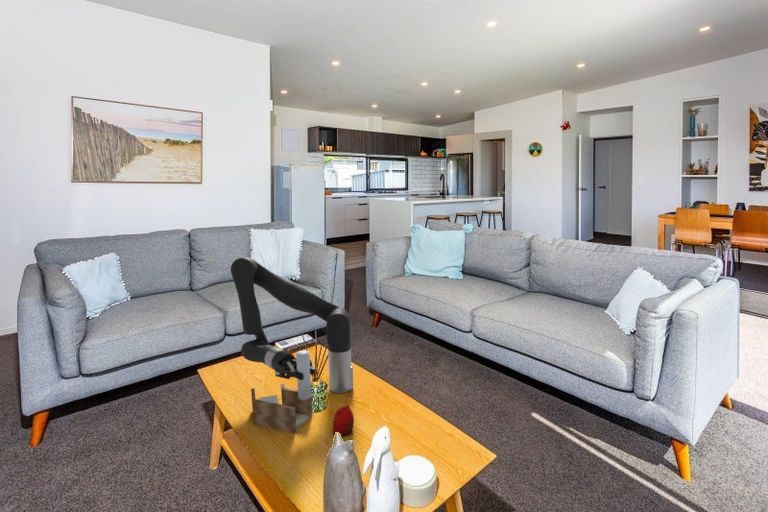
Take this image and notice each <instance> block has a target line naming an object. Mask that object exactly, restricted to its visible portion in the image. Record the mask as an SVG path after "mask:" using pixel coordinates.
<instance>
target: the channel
mask: <svg viewBox="0 0 768 512" xmlns="http://www.w3.org/2000/svg"><path fill="white" fill-rule="evenodd" d="M285 386H286V385H285V383H281V384H280V394H281V404H280V403H278V404H276V403H271V402H266V401H262V400H259V399H257V398H256V393H255V392H256V391H255V390H256V389H255V388H250V390H251V391H250V392H251V393H250V394H251V395H250V396H251V406H252V408H251V409H252V419H253V425H257V426H259V427H260V426H261V427H266V428H269V429H273V430H277V431H281V432H285V433H288V434H289V433H291V434H293V435H294V434H296V433H297V432H298V431H299V430H300V429H302V427H303V426H304V425H305V424H306V423H307V422H308V421H309V420H310V419H311V418H312V417H313V401H312V393H311V397H310V398H309V399H306V400H301V399H299V398H298V389H297V388H296V389H295V388H290V387H285Z"/></svg>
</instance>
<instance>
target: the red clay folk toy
mask: <svg viewBox="0 0 768 512" xmlns="http://www.w3.org/2000/svg"><path fill="white" fill-rule="evenodd" d="M343 395H344V396H345V397H346V401H344V403H345V405H343V406H341V407H339V408H337V409H336V411H335V413H334V415H333V421H332V433H333V434H334V433H335V432H339V433H340V434H341V436H347V435H351V434H352V432H353V429H354V423H355V419H354V414H353V412H352V409H351V408H350V405H348V398H352V397H353V394H352V393H351V394H350V392H348V394H345V393H344V394H343Z"/></svg>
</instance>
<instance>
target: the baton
mask: <svg viewBox="0 0 768 512" xmlns="http://www.w3.org/2000/svg"><path fill="white" fill-rule="evenodd" d="M295 354H296V355H295V358H296V361H297V371H298V372H301V373H303V377H304V379H303V380H299V379H297V378H296V379H297V390H298V398H299V399H301V400H306V399H309V398H310V397H311V394H312V384H311V374H310V361H311V359H310V357H311V356H310V351H309V350H307V349H306V350H305V349H304V350H299V351H296V353H295Z"/></svg>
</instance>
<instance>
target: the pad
mask: <svg viewBox="0 0 768 512" xmlns="http://www.w3.org/2000/svg"><path fill="white" fill-rule="evenodd" d="M258 400H262V401H266V402H271V403H276V404H279V401H278V400H279V398H278V394H274V395H269V396H262V397H258Z"/></svg>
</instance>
